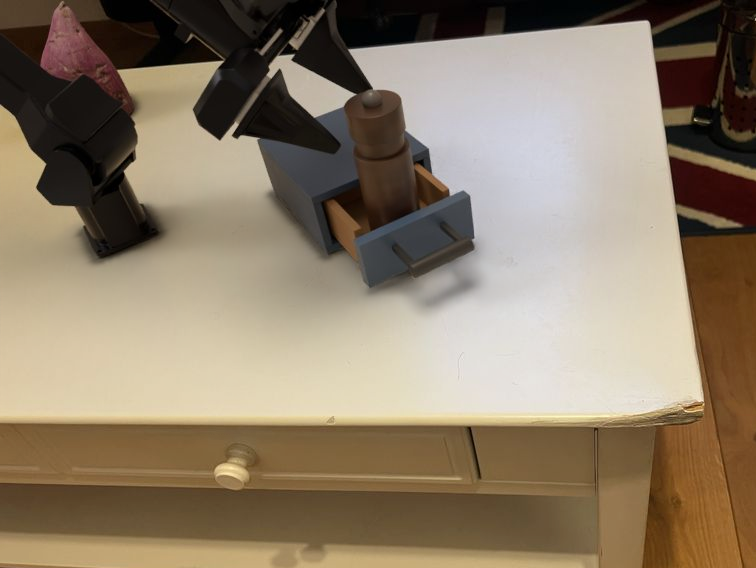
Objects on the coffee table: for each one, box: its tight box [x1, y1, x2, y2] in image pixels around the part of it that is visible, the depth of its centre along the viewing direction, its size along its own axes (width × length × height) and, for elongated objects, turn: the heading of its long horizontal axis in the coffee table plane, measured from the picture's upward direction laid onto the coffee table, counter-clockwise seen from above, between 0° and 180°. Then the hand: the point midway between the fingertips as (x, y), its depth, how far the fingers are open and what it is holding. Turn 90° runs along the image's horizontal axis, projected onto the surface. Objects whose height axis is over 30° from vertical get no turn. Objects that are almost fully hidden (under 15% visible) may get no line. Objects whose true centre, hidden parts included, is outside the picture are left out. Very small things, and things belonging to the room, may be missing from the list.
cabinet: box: [256, 106, 434, 255], centre depth 75 cm, size 14×13×7 cm
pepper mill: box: [343, 89, 420, 231], centre depth 64 cm, size 5×5×14 cm
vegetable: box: [39, 0, 135, 116], centre depth 93 cm, size 10×10×15 cm
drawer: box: [321, 162, 475, 289], centre depth 68 cm, size 17×11×5 cm
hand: (355, 120), depth 61 cm, fingers open, 9 cm apart
